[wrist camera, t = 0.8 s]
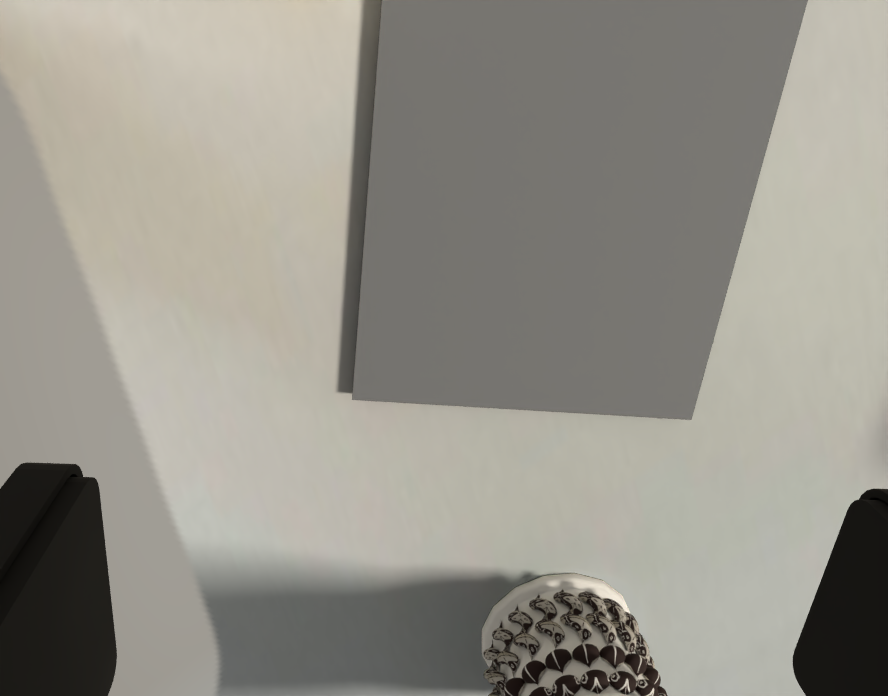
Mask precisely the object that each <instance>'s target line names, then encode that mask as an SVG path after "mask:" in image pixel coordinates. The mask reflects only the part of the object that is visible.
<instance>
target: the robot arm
mask: <svg viewBox="0 0 888 696" xmlns="http://www.w3.org/2000/svg"><path fill="white" fill-rule="evenodd" d="M105 549H106V548H105V539H104V530H103V520H102V511H101V502H100V492H99V486H98V482H97V480H96V479H95V478H92V477H83V474H82V471H81V469H80V467H79V466H77V465H76V464H53V463H52V464H51V463H23V464H21V465H20V466H18V467H17V468H16V469H15V471H14V472H13V473H12V474H11V476H10V477H9V478H8V480H7V481H6V482H5V483H4V485H3V486H2V487H1V489H0V696H108V693H109V691H110V688H111V685H112V682H113V678H114V674H115V669H116V659H117V653H116V651H117V650H116V641H115V632H114V622H113V613H112V604H111V594H110V585H109V576H108V566H107V557H106V550H105ZM793 669H794V673H795V677H796V679H797V681H798V683H799V685H800V687H801V688H802V690H803V692H804V693H805V695H806V696H888V489H871V490H867V491H866V492H865V493H864V494H862V495H861V497H860V499H859V500H856V501H854V502H853V503H852V504H851V505H850V507H849V508H848V510H847V513H846V516H845V518H844V521H843V524H842V526H841V529H840V532H839V534H838V537H837V540H836V542H835V545H834V548H833V550H832V553H831V555H830V558H829V561H828V563H827V566H826V569H825V571H824V574H823V577H822V579H821V582H820V585H819V587H818V590H817V593H816V595H815V598H814V601H813V603H812V606H811V608H810V611H809V614H808V616H807V619H806V622H805V624H804V627H803V630H802V632H801V635H800V638H799V640H798V643H797V646H796V648H795V651H794V655H793Z"/></svg>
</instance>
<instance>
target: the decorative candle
mask: <svg viewBox="0 0 888 696" xmlns="http://www.w3.org/2000/svg"><path fill="white" fill-rule="evenodd" d="M482 656H483V658H484V660H485V661H486V663H487V665H488V667H489V669H486V670H485V671H484V678H485V679H487V680H488V682H489V683H490V684H493V685H494V684H495V685H496V687H494V688H493V692H492V693H490V694H489V695H488V696H667V693H666V691H665V689H664V688H662V687H660V686H659V685H660V681H661V679H660V675H659V673H658V671H657V670H656V669H655V665H654V661H653V659H652V657H651V656H650V655H649V648H648V645H647V643H646V641H645V640H644V639H643V637H642V635H641V634H640V633H639V627H638V624H637V621H636V619H635V618H634V617H633V615H631V614H630V612H629V609H628V607H627V605H626V603H625V600H624V598H623V596H622V595H621V594H620V593H619V592H617V591H616V590H615V589H613V588H612V587H611V586H609V585H608V584H607V583H606V582H604V581H603V580H600V579H596V578H592V577H588V576H584V575H580V574H577V573H570V574H558V575H545V576H542V577H539V578H537V579H535V580H532V581H530V582H527V583H525V584H522V585H520V586H517V587H515V588H514V589H513V590H512V591H511V592H509V593H508V594H507V595H506V596H505V597H504V598H502V599H501V600H500V601H499V602H498V603H497V604H496V605H494V606H493V608H492V610H491V612H490V614H489V616H488V618H487V620H486V622H485V624H484V626H483V628H482Z"/></svg>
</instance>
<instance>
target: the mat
mask: <svg viewBox="0 0 888 696" xmlns="http://www.w3.org/2000/svg"><path fill="white" fill-rule="evenodd" d="M807 1H808V0H382V3H381V16H380V30H379V43H378V57H377V70H376V84H375V97H374V111H373V124H372V138H371V151H370V165H369V178H368V192H367V205H366V219H365V232H364V246H363V259H362V273H361V286H360V300H359V313H358V327H357V340H356V354H355V367H354V381H353V394H352V400H364V401H381V402H398V403H415V404H432V405H448V406H465V407H482V408H499V409H516V410H533V411H550V412H567V413H583V414H600V415H617V416H634V417H651V418H668V419H685V420H691V419H692V416H693V412H694V408H695V405H696V401H697V398H698V394H699V390H700V387H701V383H702V380H703V376H704V372H705V369H706V365H707V362H708V358H709V354H710V351H711V347H712V344H713V340H714V336H715V333H716V329H717V326H718V322H719V318H720V315H721V311H722V307H723V304H724V300H725V297H726V293H727V289H728V286H729V282H730V279H731V275H732V271H733V268H734V264H735V261H736V257H737V253H738V250H739V246H740V243H741V239H742V235H743V232H744V228H745V225H746V221H747V217H748V214H749V210H750V207H751V203H752V199H753V196H754V192H755V189H756V185H757V181H758V178H759V174H760V171H761V167H762V163H763V160H764V156H765V153H766V149H767V145H768V142H769V138H770V134H771V131H772V127H773V124H774V120H775V116H776V113H777V109H778V106H779V102H780V98H781V95H782V91H783V88H784V84H785V80H786V77H787V73H788V70H789V66H790V62H791V59H792V55H793V52H794V48H795V44H796V41H797V37H798V34H799V30H800V26H801V23H802V19H803V16H804V12H805V8H806V5H807Z"/></svg>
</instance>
